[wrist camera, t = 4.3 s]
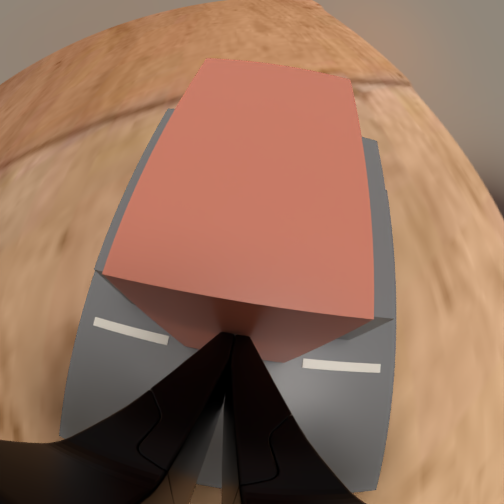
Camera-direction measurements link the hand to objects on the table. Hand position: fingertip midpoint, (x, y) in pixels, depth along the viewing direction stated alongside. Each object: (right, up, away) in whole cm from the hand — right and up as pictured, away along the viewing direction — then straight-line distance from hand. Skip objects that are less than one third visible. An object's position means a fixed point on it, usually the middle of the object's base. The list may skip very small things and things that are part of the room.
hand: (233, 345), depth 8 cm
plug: (0, +1, +7) cm, 8 cm away
